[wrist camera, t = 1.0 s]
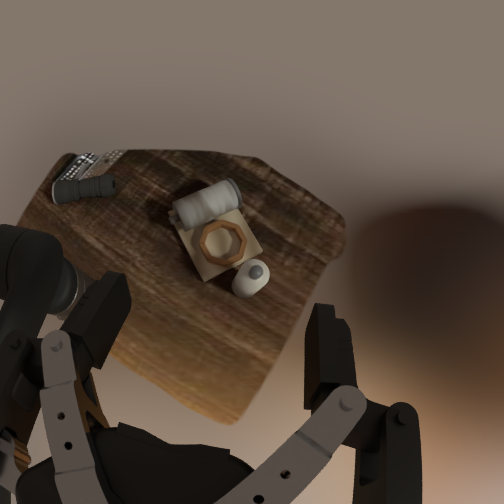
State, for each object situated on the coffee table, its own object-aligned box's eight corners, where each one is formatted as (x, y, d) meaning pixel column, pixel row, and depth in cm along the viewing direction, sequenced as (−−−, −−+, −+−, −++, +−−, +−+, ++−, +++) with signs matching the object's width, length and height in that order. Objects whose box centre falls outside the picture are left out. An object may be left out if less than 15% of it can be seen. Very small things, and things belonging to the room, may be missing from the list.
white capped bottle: (239, 302, 60) (251, 292, 48) (227, 280, 60) (235, 264, 48) (260, 290, 61) (277, 277, 49) (248, 269, 62) (262, 251, 50)
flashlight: (117, 179, 63) (113, 167, 58) (116, 199, 61) (111, 188, 56) (61, 188, 59) (53, 177, 54) (59, 208, 57) (50, 197, 52)
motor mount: (199, 284, 59) (200, 275, 51) (164, 216, 62) (161, 198, 54) (261, 252, 64) (271, 239, 56) (224, 190, 67) (228, 170, 59)
